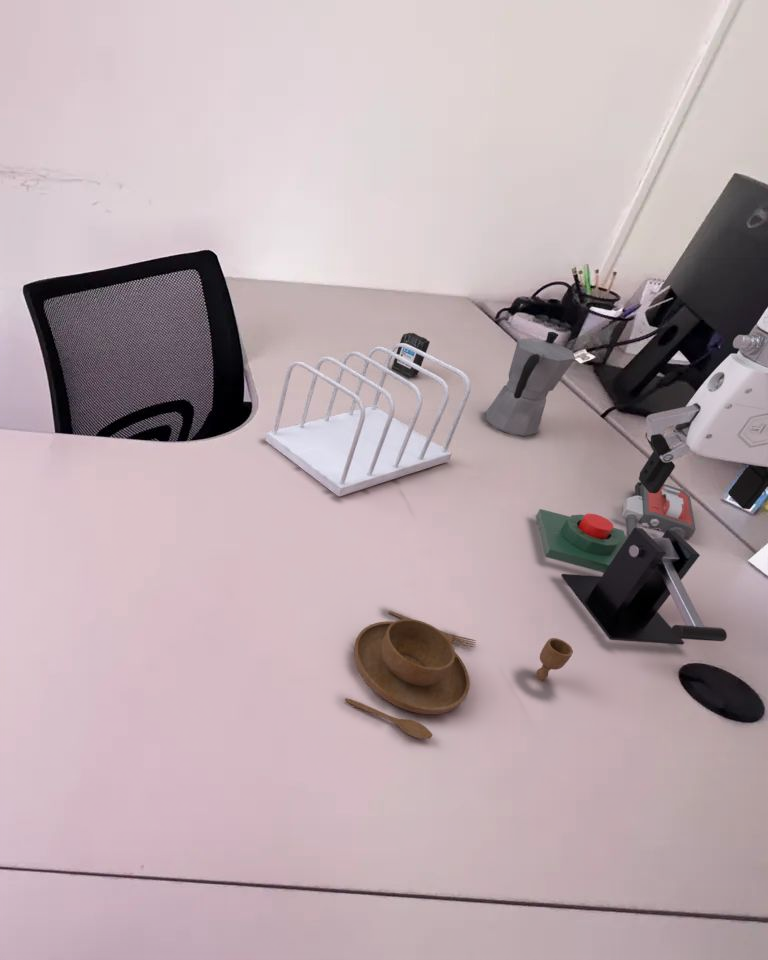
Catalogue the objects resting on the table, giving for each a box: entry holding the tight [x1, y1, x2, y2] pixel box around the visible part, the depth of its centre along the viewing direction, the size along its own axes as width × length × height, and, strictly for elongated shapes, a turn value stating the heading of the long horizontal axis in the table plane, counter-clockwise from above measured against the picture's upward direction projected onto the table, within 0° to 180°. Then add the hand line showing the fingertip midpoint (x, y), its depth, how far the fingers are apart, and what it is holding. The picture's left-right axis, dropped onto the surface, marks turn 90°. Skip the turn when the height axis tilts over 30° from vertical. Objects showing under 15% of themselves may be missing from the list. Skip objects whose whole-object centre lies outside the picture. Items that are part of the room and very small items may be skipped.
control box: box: [535, 508, 628, 573], centre depth 93 cm, size 11×10×4 cm
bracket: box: [560, 527, 701, 645], centre depth 81 cm, size 11×9×12 cm
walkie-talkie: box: [621, 481, 697, 541], centre depth 100 cm, size 9×4×20 cm
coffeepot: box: [485, 331, 576, 437], centre depth 119 cm, size 15×9×18 cm, turn 137°
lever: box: [650, 536, 728, 642], centre depth 76 cm, size 12×5×2 cm, turn 0°
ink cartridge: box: [391, 332, 431, 379], centre depth 137 cm, size 5×2×8 cm, turn 34°
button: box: [578, 513, 614, 539], centre depth 92 cm, size 4×4×2 cm
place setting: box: [344, 610, 574, 740], centre depth 70 cm, size 18×20×6 cm
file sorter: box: [265, 342, 472, 497], centre depth 107 cm, size 25×17×16 cm
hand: (692, 494), depth 76 cm, fingers open, 9 cm apart
